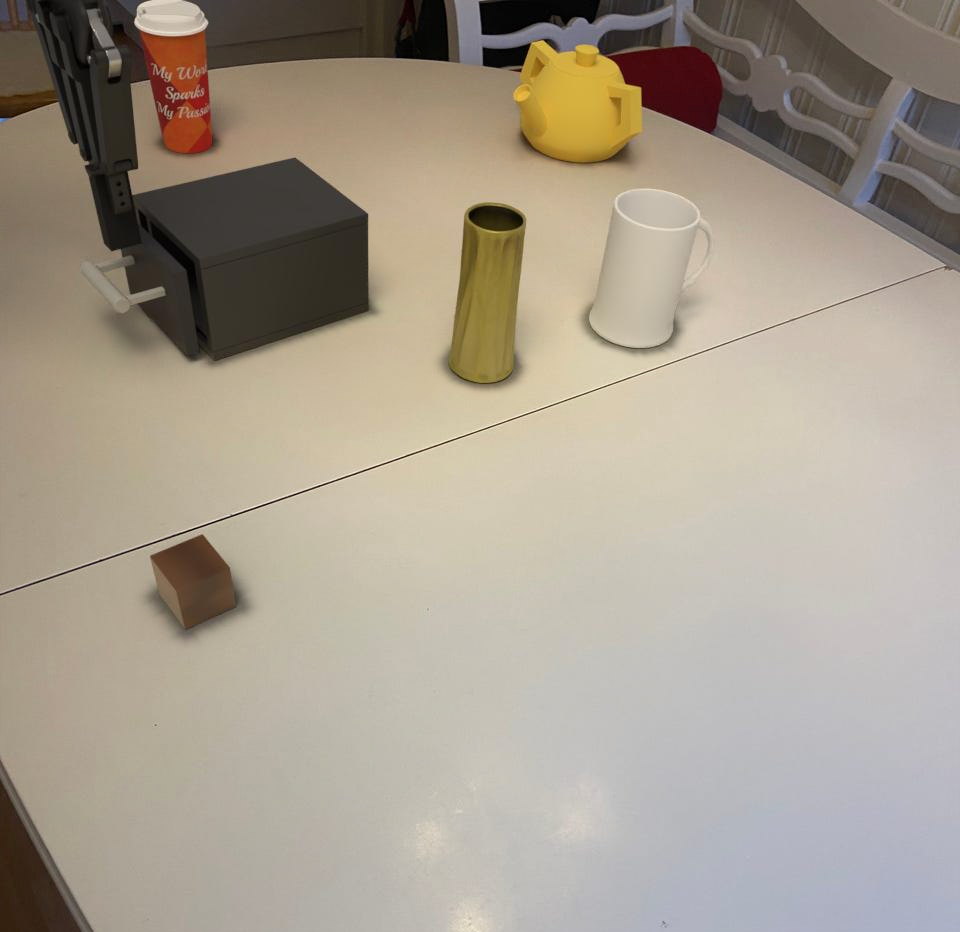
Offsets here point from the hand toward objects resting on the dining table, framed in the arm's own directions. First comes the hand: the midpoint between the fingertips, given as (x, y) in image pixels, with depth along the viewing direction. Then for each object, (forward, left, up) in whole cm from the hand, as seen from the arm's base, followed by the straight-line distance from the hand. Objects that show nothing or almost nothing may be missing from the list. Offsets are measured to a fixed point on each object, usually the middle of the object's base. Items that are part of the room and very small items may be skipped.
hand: (122, 243), depth 81 cm
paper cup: (-19, +37, -10) cm, 42 cm away
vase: (+29, +12, -10) cm, 33 cm away
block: (+22, -25, -9) cm, 35 cm away
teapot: (+20, +62, -10) cm, 66 cm away
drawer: (+3, +6, -8) cm, 11 cm away
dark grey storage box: (+6, +11, -9) cm, 15 cm away
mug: (+41, +27, -10) cm, 50 cm away
